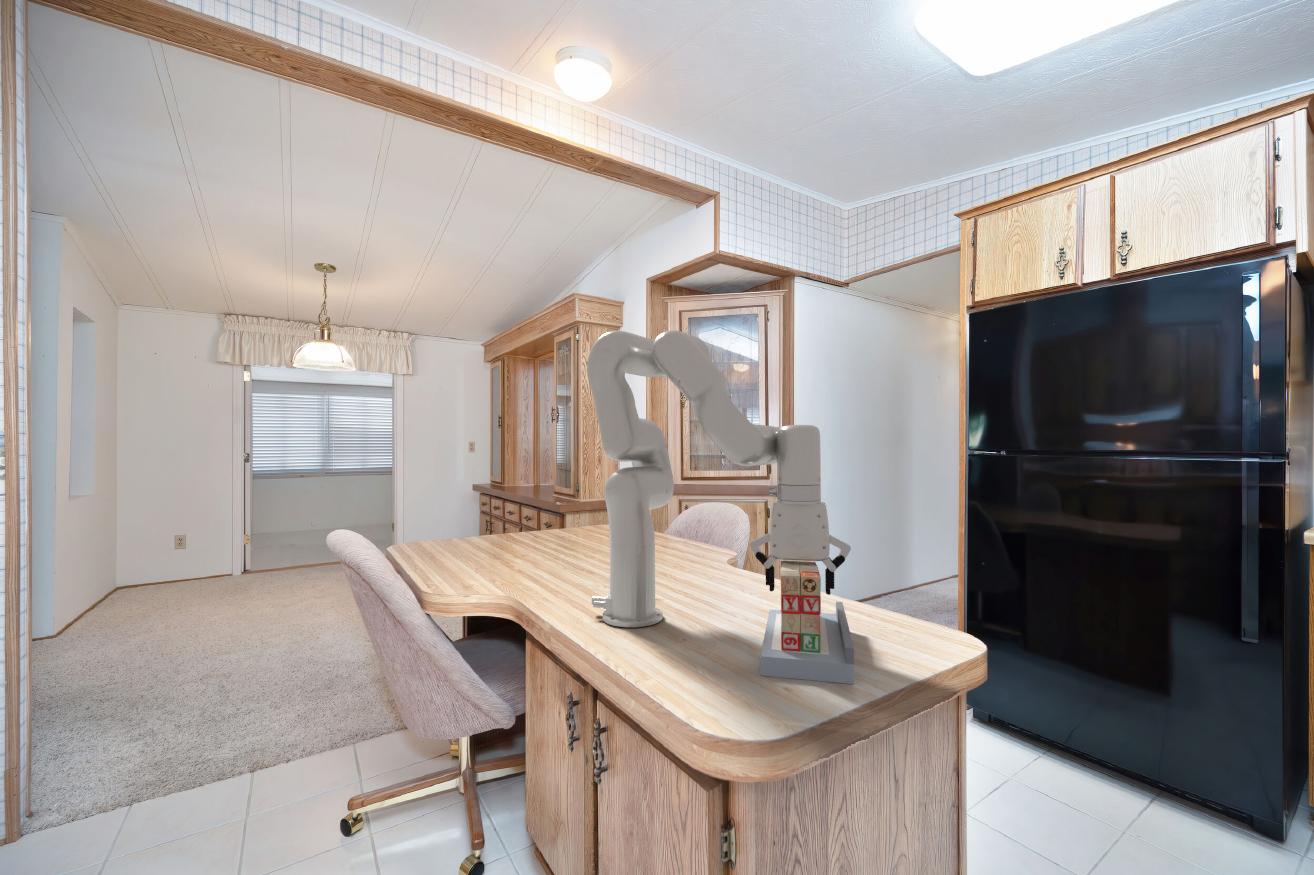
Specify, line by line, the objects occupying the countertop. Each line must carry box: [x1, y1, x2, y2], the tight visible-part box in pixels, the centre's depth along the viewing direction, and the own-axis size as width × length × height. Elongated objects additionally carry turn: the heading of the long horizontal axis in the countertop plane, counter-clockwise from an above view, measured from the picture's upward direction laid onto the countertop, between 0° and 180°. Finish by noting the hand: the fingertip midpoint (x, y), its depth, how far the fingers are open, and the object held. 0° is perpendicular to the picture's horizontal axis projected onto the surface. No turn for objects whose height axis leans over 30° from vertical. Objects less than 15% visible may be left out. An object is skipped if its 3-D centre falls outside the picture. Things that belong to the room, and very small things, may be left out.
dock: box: [759, 601, 855, 685], centre depth 100 cm, size 14×26×5 cm, turn 166°
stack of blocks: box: [779, 560, 822, 653], centre depth 101 cm, size 21×6×12 cm, turn 168°
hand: (799, 591), depth 100 cm, fingers open, 9 cm apart
